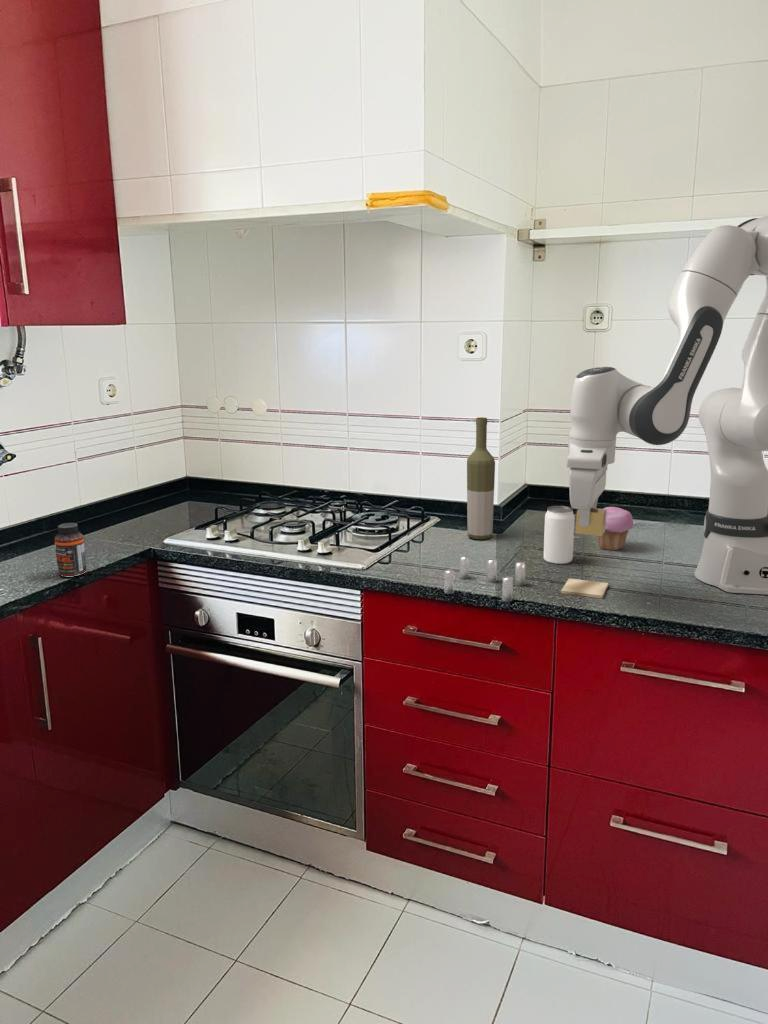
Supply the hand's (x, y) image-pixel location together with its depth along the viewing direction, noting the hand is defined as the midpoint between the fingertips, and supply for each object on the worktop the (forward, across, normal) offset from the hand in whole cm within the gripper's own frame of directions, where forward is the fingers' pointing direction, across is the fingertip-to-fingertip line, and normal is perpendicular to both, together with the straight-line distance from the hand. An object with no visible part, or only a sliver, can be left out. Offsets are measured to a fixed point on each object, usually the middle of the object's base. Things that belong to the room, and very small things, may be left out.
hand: (587, 521), depth 155 cm
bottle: (+14, -30, -31) cm, 45 cm away
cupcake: (+14, -32, +1) cm, 35 cm away
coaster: (+14, 0, 0) cm, 14 cm away
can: (+14, -18, -9) cm, 24 cm away
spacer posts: (+14, +6, -19) cm, 24 cm away
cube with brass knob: (+2, 0, +1) cm, 2 cm away
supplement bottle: (+15, +30, -106) cm, 111 cm away
